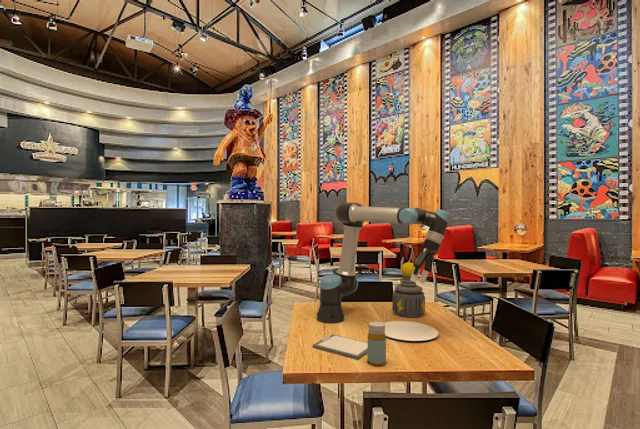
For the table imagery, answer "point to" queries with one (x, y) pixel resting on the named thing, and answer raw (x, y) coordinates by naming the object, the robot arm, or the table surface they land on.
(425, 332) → the plate
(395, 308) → the decorative lamp
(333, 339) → the clipboard
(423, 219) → the robot arm
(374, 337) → the bottle
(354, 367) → the table surface
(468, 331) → the table surface
